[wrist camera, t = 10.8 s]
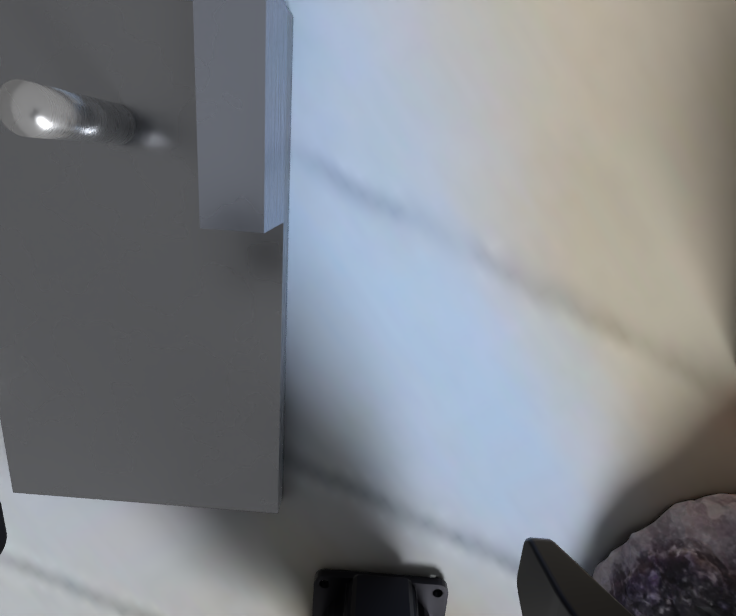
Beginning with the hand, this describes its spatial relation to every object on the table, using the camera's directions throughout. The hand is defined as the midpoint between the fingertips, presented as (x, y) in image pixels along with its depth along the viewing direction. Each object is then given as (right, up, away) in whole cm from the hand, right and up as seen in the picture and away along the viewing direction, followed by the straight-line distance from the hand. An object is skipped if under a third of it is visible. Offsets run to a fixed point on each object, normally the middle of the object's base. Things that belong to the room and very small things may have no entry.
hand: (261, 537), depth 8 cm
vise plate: (-7, +5, +11) cm, 14 cm away
